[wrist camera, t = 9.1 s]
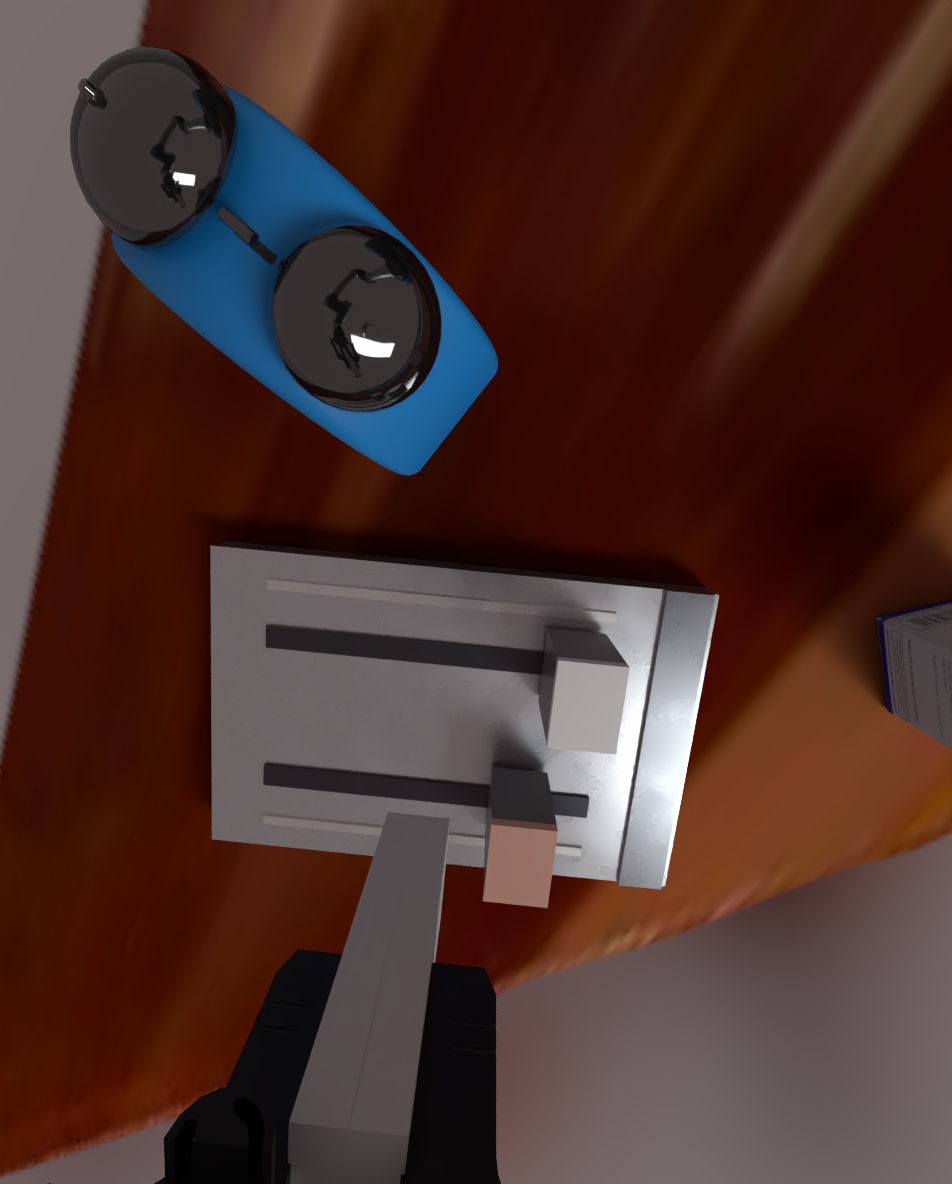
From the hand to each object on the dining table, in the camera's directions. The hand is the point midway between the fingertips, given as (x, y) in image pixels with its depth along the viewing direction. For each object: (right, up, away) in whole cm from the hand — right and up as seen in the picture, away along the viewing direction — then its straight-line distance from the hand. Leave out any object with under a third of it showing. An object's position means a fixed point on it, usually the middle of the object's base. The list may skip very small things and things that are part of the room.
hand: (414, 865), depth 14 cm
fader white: (+6, +3, +15) cm, 17 cm away
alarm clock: (-4, +19, +15) cm, 25 cm away
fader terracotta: (+4, -5, +17) cm, 18 cm away
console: (0, 0, +19) cm, 19 cm away
